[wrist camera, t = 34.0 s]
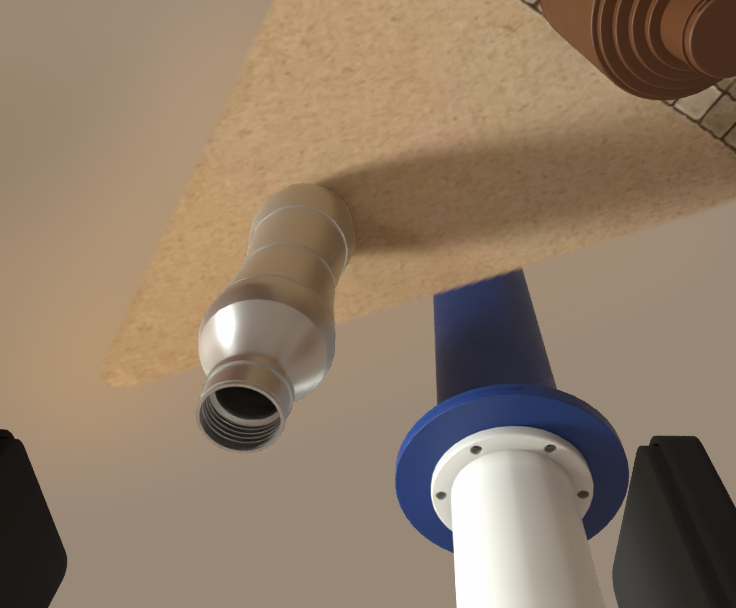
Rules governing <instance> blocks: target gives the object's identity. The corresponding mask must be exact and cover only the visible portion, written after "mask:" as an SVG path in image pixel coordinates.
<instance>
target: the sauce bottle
mask: <svg viewBox="0 0 736 608" xmlns="http://www.w3.org/2000/svg"><path fill="white" fill-rule="evenodd" d="M540 4H541V8H542V11H543V13H544V15H545V17H546V19H547V21H548V22H549V24H550V25H551V26H552V27H553V28H554V29H555V30H556V31H557V32H558V33H559V34H560V35H561V36H562V37H563V38H564V39H565V40H567V41H568V42H569V43H570V44H571V45H572V46H573V47H574V48H575V49H577V50H578V51H579V52H580V53H581V54H582V55H583V56H584V57H585V58H587V59H588V60H589V61H590V62H591V63H592V64H593V65H594V66H595V67H597V68H598V69H599V70H600V71H601V72H602V73H603V74H604V75H605V76H607V77H608V78H609V79H610V80H611V81H612V82H613V83H614V84H616V85H617V86H618V87H620V88H621V89H622V90H624V91H626V92H628V93H630V94H632V95H635V96H638V97H641V98H645V99H650V100H674V99H679V98H684V97H688V96H691V95H694V94H697V93H699V92H701V91H703V90H705V89H707V88H709V87H711V86H713V85H714V84H716V83H718V82H719V81H721V80H722V79H723V78H730V77H734V76H736V0H540Z"/></svg>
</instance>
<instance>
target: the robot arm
mask: <svg viewBox="0 0 736 608" xmlns="http://www.w3.org/2000/svg"><path fill="white" fill-rule="evenodd" d="M593 486H594V485H593V481H592V476H591V473H590V470H589V467H588V464H587V462H586V460H585V459H584V457H583V456H582V454H581V453H580V451H579V450H577V449H576V448H575V447H574V446H573V445H572V444H571V443H570V442H568V441H566V440H565V439H563V438H561V437H560V436H558V435H556V434H553V433H551V432H548V431H545V430H542V429H537V428H532V427H524V426H505V427H495V428H491V429H487V430H483V431H480V432H477V433H475V434H472V435H470V436H467V437H466V438H464V439H462V440H461V441H459V442H457V443H456V444H454V445H453V446H452V447H451V448H450V449H449V450H448V451H447V452H445V453H444V455H443V456H442V458H441V459H440V460H439V462H438V463H437V465H436V467H435V470H434V472H433V475H432V482H431V498H432V502H433V506H434V509H435V511H436V513H437V515H438V517H439V518H440V520H441V521H442V522H443V523H444V524H445V525H446V527H448V528H449V529H450V530H451V531H453V545H454V564H455V583H456V602H457V608H605V605H604V601H603V597H602V594H601V590H600V586H599V582H598V578H597V575H596V571H595V567H594V563H593V560H592V556H591V552H590V548H589V545H588V541H587V537H586V533H585V530H584V526H583V522H582V518H583V517H584V515H585V514H586V512H587V510H588V509H589V507H590V504H591V501H592V498H593ZM66 568H67V555H66V552H65V549H64V547H63V544H62V542H61V539H60V536H59V534H58V532H57V529H56V526H55V524H54V521H53V519H52V516H51V514H50V511H49V508H48V506H47V503H46V501H45V498H44V496H43V493H42V491H41V489H40V486H39V483H38V481H37V478H36V476H35V473H34V471H33V468H32V465H31V463H30V460H29V458H28V455H27V453H26V450H25V448H24V445H23V443H22V442H21V441H20V440H19V439H15V438H14V436H13V435H12V433H11V432H9V431H8V430H3V429H0V608H48V607H49V605H50V603H51V601H52V599H53V597H54V595H55V593H56V592H57V589H58V587H59V586H60V584H61V582H62V580H63V578H64V576H65V572H66ZM612 577H613V586H614V592H615V596H616V600H617V603H618V607H619V608H736V508H735V506H734V504H733V502H732V500H731V498H730V497H729V494H728V492H727V490H726V489H725V487H724V485H723V483H722V481H721V479H720V477H719V475H718V473H717V471H716V470H715V468H714V466H713V464H712V462H711V460H710V458H709V456H708V454H707V453H706V451H705V449H704V447H703V445H702V443H701V442H700V440H699V439H698V438H697V437H695V436H653V438H652V439H651V440H650V444H649V446H639V448H638V450H637V452H636V457H635V462H634V467H633V472H632V477H631V482H630V486H629V491H628V496H627V501H626V506H625V511H624V516H623V521H622V526H621V530H620V535H619V540H618V546H617V550H616V555H615V560H614V564H613V576H612Z"/></svg>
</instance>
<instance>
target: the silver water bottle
mask: <svg viewBox="0 0 736 608" xmlns="http://www.w3.org/2000/svg"><path fill="white" fill-rule="evenodd" d="M355 237H356V236H355V229H354V224H353V219H352V216H351V214H350V211H349V209H348V208H347V206H346V204H345V203H344V202H343V201H342V200H341V199H340V197H339V196H338V195H336V194H335V193H333V192H332V191H330V190H328V189H326V188H324V187H322V186H318V185H314V184H303V183H302V184H295V185H290V186H288V187H285V188H283V189H281V190H279V191H277V192H276V193H275V194H273V195H272V196H271V197H270V198H269V199H267V200H266V201H265V202H264V203H263V204H262V205H261V207H260V208H259V209H258V211H257V212H256V214H255V217H254V219H253V222H252V227H251V232H250V237H249V248H248V251H247V254H246V258H245V261H244V262H243V264H242V266H241V267H240V269H239V270H238V272H237V274H236V275H235V277H234V278H233V279H232V280H231V281H230V283H229V284H228V285H227V286H226V287H225V288H224V289H223V290H222V292H221V293H220V294H219V295H218V296H217V297H216V299H215V300H214V301H213V303H212V304H211V305H210V307H209V309H208V310H207V311H206V313H205V315H204V317H203V319H202V322H201V324H200V329H199V335H198V338H199V358H200V361H201V364H202V368H203V369H204V371H205V373H206V375H207V378H206V380H205V383H204V385H203V391H202V395H201V397H200V399H199V401H198V404H197V410H196V420H197V423H198V426H199V428H200V430H201V432H202V433H203V435H204V436H205V437H206V438H207V439H208V440H210V441H211V442H212V443H213V444H215V445H217V446H218V447H220V448H222V449H225V450H227V451H231V452H236V453H253V452H257V451H261V450H263V449H266V448H268V447H270V446H271V445H272V444H274V443H275V442H276V441H277V440H278V438H279V437H280V435H281V433H282V432H283V430H284V427H285V423H286V419H287V418H288V416H289V414H290V412H291V410H292V406H293V403H294V402H296V401H298V400H300V399H302V398H304V397H305V396H307V395H308V394H309V393H311V392H312V391H313V390H314V389H315V388H316V387H317V386H318V384H319V383H320V382H321V381H322V379H323V378H324V376H325V375H326V374H327V372H328V370H329V368H330V366H331V364H332V361H333V357H334V349H335V322H334V308H333V307H334V296H335V289H336V286H337V283H338V281H339V278H340V276H341V274H342V273H343V272H344V270H345V268H346V266H347V264H348V262H349V260H350V258H351V256H352V254H353V250H354V247H355Z"/></svg>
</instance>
